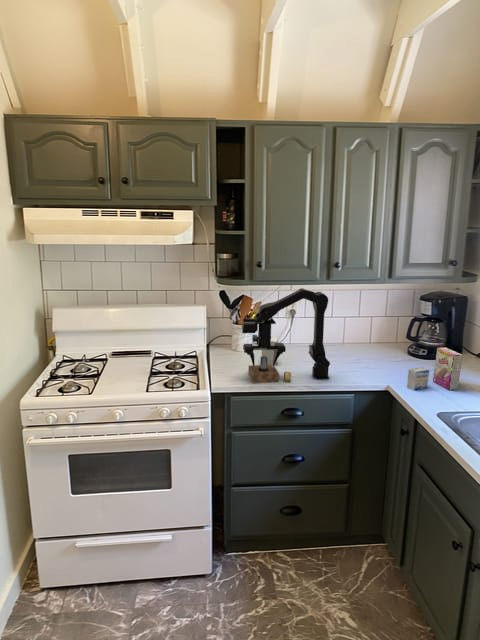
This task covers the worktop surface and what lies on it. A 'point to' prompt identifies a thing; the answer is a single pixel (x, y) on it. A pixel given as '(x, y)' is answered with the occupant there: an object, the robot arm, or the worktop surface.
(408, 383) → the medicine box
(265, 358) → the long pin
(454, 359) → the candy bar box
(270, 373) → the hole block
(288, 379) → the short pin
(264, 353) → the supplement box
